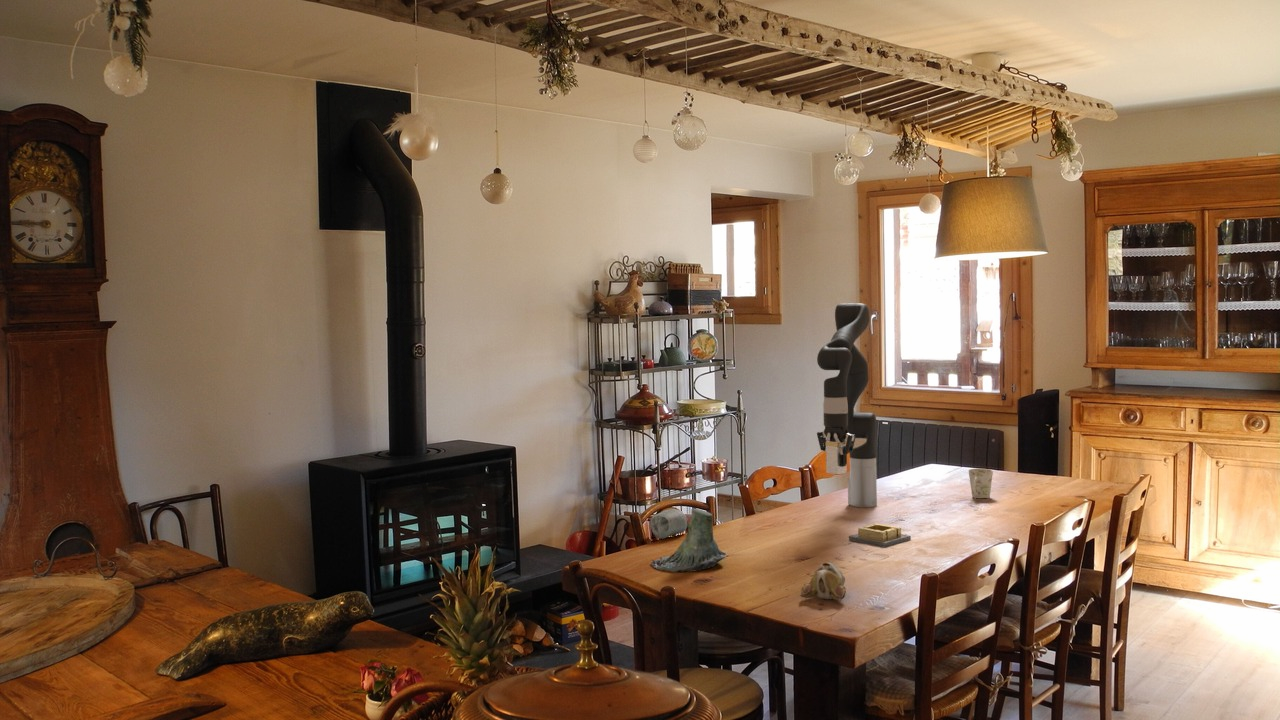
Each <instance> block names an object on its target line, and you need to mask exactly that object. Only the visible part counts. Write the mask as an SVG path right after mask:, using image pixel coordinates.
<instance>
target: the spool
mask: <svg viewBox="0 0 1280 720" xmlns="http://www.w3.org/2000/svg"><path fill="white" fill-rule="evenodd" d="M687 525H688V520H687V517H686V515H685V513H684V512H682V511H681V510H680V509H676V508H672V509H671V508H670V509H666V510H663V511H660V512H659V513H657V514H654V515H652V517H651V518H650V521H649V526H650V530H651V531H652V533H653V535H654V536H655V537H656V538H658V539H660V540H664V539H666V538H669V537H673V536H676V535H679V534H682V533H684V532H686V530H687V528H688V526H687Z"/></svg>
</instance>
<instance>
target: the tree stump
mask: <svg viewBox="0 0 1280 720" xmlns="http://www.w3.org/2000/svg"><path fill="white" fill-rule="evenodd" d="M690 511H691V514H690V519H689V523H687V528H688V529H687V533H686V536H685V539H683V540H682V541H681V543H680V545H679V546H678V548H677V549H676V551H674V552H673V553H672V554H671V555H667V556H660V558H658V559H656V560H654V559H651V566H652V567H653V568H654V569H655V568H656V570H658V569H659V570H658V571H662V570H665V571H664V572H668V571H672V572H671V573H679V572H678V571H689V572H692V571H691V570H698V571H701V570H700V569H703V570H706V569H705V568H707V569H710V568H709V567H712V568H714V567H715V565H717V564H718V563H719V562H721V561H723V560H724V559H725V558H726V557H727V555H726V552H723V551H721V550H720V549H719V546H718V543H717V542H716V540H715V539H714V528H713V527H714V526H713V520H714V519H713V514H712V513H710V512H709V511H706V510H703V509H699V508H691V510H690ZM662 564H663V565H662ZM661 565H662V566H661Z"/></svg>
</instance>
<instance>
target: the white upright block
mask: <svg viewBox="0 0 1280 720" xmlns="http://www.w3.org/2000/svg"><path fill="white" fill-rule="evenodd" d="M841 444H844V442H843V443H841ZM840 455H841V454H840V451H839V443H838V442H835V441H826V452H825V457H826V458H825V462H826V463H825V464H826V465H825V466H826V474H834V475H842V474H846V473H848V472H847V471H848V469H847V468H848V467H847V465H848V464H846V466H844V467H841V466H840Z"/></svg>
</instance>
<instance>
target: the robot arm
mask: <svg viewBox="0 0 1280 720" xmlns="http://www.w3.org/2000/svg"><path fill="white" fill-rule="evenodd" d="M834 310H835V311H834V320H835V328H836V331H835V332H834V333H833V336H832V338H831V340H830V341H828V342H827V343H826V344H825V345H823V346H822V347H821V348H820V349H819V351H818V353H817V358H816V362H817V363H816V364H817V365H818V366H819V368H820V369H821V370H824V371H839V373H838V374H837V375H836V376H833V377H829V378H826V379H825V380H824V382H823V403H822V404H823V405H822V407H823V409H822V410H823V427H824V429H823V431H818V432H816V435H817V440H818V444H819V448H820V450H821V451H822V452H824V453H826V441H835V442H838V443H839V451H840V454H841V455H840V466H841V467H844V466H846V465H848V456H847V455H848V454H849V477H848V478H847V504H848V505H849V504H850V506H851V507H855V508H872V507H876V506H877V505H878V498H877V497H878V494H877V491H878V490H877V488H878V487H877V416H876V414H875V413H873V412H856V411H855V406H856V404H857V402H858V400H859V398H860V396H861V395H862V394H863V392H864V391H865V389H866V388H867V385H868V383H869V381H870V380H869V379H870V378H869V365H868V361H867V359H866V357H865V356H864V354H862V352H861V351H860V350H859V348H858V347H857V346H856V345H855V343H856V341H857V339H858V338H859V337H861V335H862V334H863V333H864V332H865V331H866V329H867V328H868V326H869V322H870V308H869V307H868V305H867V304H866V303H859V302H857V303H856V302H853V303H850V302H849V303H848V302H846V303H844V302H842V303H838V304H837V305H836V306H835V309H834ZM856 439H866V441H865V442H864V443H863V444H861V445H858V446H856V447H855V442H856ZM843 442H844V444H841V443H843Z"/></svg>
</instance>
